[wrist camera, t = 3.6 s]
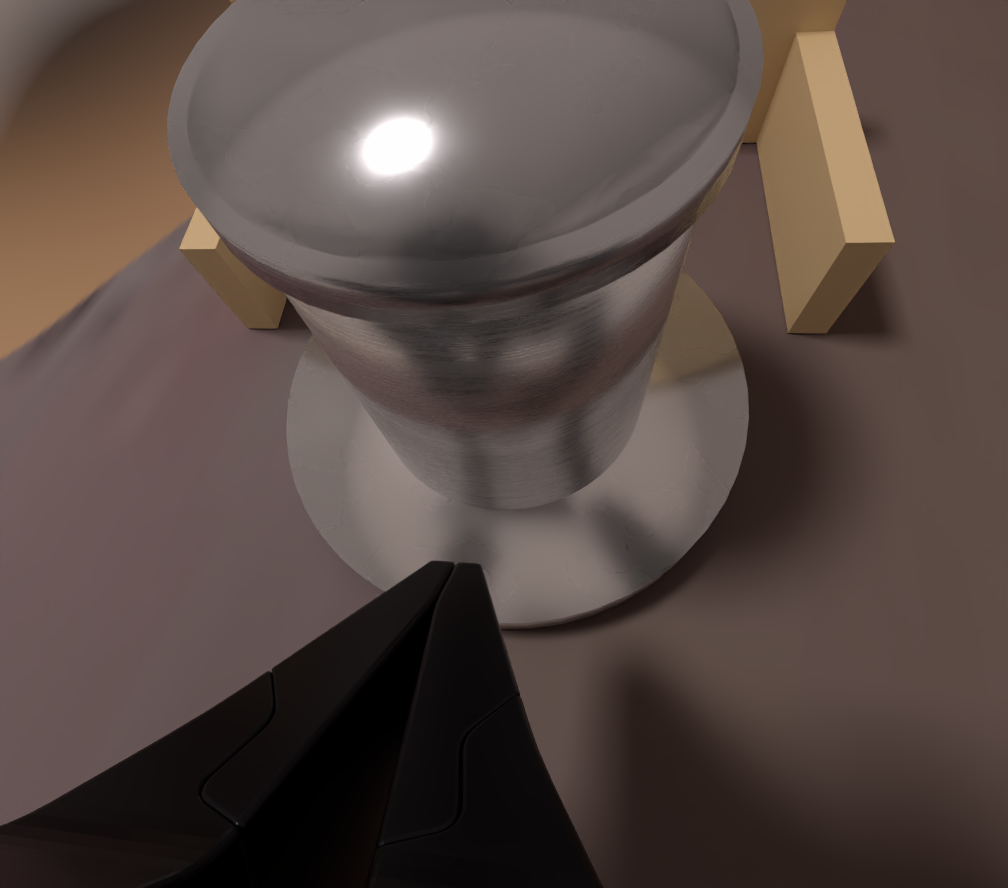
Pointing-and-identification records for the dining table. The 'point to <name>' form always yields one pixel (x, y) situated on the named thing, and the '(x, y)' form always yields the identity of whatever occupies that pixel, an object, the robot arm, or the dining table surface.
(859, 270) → the tan wooden u-frame
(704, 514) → the door knob
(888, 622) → the dining table surface
